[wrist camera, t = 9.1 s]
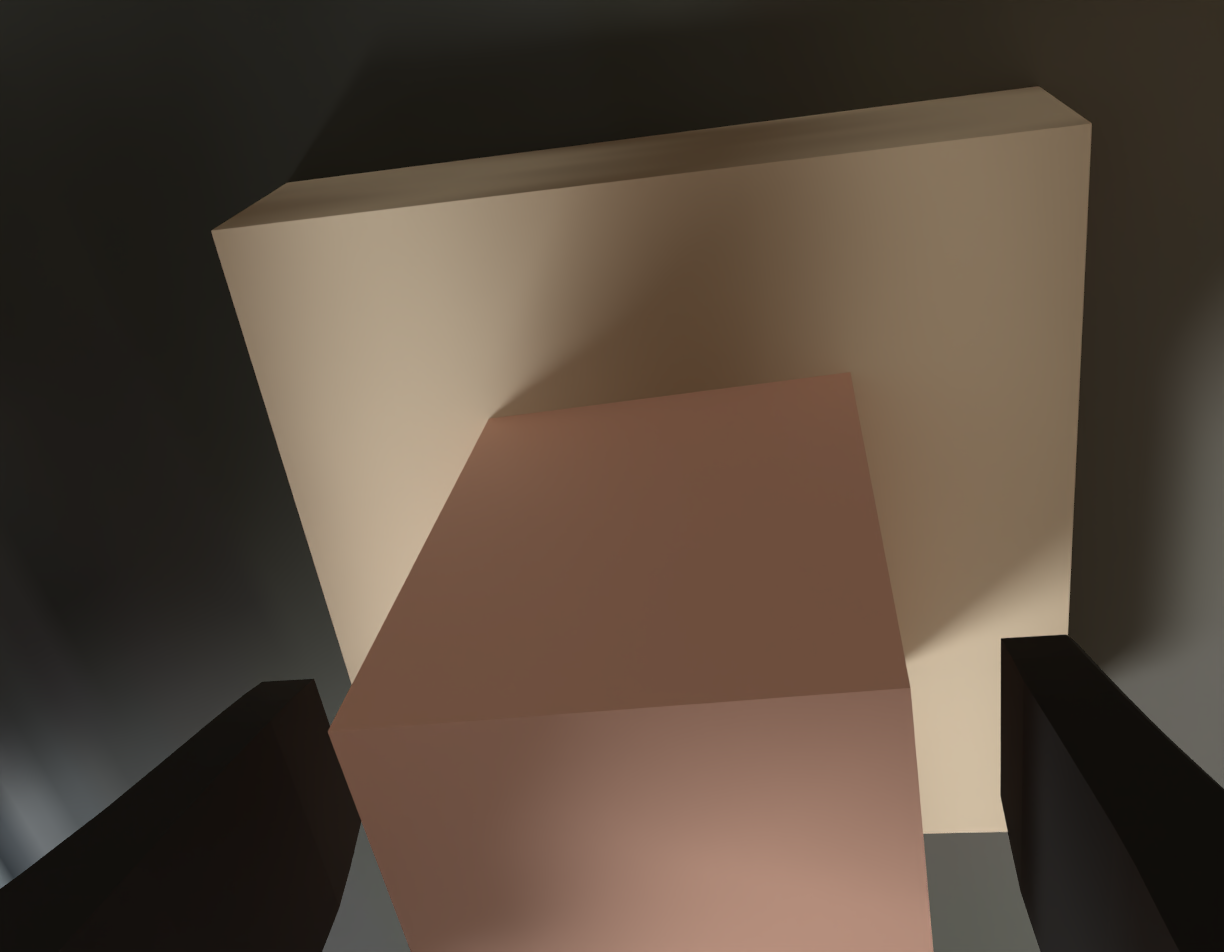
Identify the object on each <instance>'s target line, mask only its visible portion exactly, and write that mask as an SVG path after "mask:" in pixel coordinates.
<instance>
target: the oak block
mask: <svg viewBox="0 0 1224 952" xmlns="http://www.w3.org/2000/svg"><path fill="white" fill-rule="evenodd" d="M1091 132H1092V123H1091V122H1089V121H1088V120H1086V119H1085V118H1083V117H1082V116H1081V115H1079V114H1078V113H1076V112H1075V111H1074V110H1072V109H1071V108H1069V107H1068V106H1066V105H1065V104H1064V103H1062V102H1061V101H1059V100H1058V99H1057V98H1055V97H1054V96H1052V95H1051V94H1049V93H1048V92H1047V91H1045V90H1044V89H1042V88H1041V87H1039V86H1036V87H1028V88H1020V89H1013V90H1005V91H997V92H989V93H981V94H974V95H966V96H958V97H950V98H942V99H935V100H927V101H919V102H911V103H904V104H896V105H888V106H880V107H872V108H865V109H857V110H849V111H841V112H834V113H826V114H818V115H810V116H802V117H795V118H787V119H779V120H771V121H763V122H756V123H748V124H740V125H732V126H725V127H717V128H709V129H701V130H693V131H686V132H678V133H670V134H662V135H654V136H647V137H639V138H631V139H623V140H616V141H608V142H600V143H592V144H584V145H577V146H569V147H561V148H553V149H546V150H538V151H530V152H522V153H514V154H507V155H499V156H491V157H483V158H475V159H468V160H460V161H452V162H444V163H437V164H429V165H421V166H413V167H405V168H398V169H390V170H382V171H374V172H367V173H359V174H351V175H343V176H335V177H328V178H320V179H312V180H304V181H296V182H289V183H286V184H284V185H283V186H281V187H280V188H278V189H276V190H275V191H273V192H272V193H270V194H268V195H267V196H265V197H264V198H262V199H261V200H259V201H257V202H256V203H254V204H253V205H251V206H249V207H248V208H246V209H245V210H243V211H241V212H240V213H238V214H237V215H235V216H233V217H232V218H230V219H229V220H227V221H226V222H224V223H222V224H221V225H219V226H218V227H216V228H214V229H213V230H211V233H212V236H213V239H214V242H215V246H216V249H217V252H218V255H219V258H220V262H221V265H222V268H223V271H224V275H225V278H226V281H227V284H228V287H229V291H230V294H231V297H232V300H233V304H234V307H235V310H236V313H237V316H238V320H239V323H240V326H241V329H242V333H243V336H244V339H245V342H246V345H247V349H248V352H249V355H250V358H251V362H252V365H253V368H254V371H255V374H256V378H257V381H258V384H259V387H260V390H261V394H262V397H263V400H264V403H265V407H266V410H267V413H268V416H269V419H270V423H271V426H272V429H273V432H274V436H275V439H276V442H277V445H278V448H279V452H280V455H281V458H282V461H283V465H284V468H285V471H286V474H287V477H288V481H289V484H290V487H291V490H292V494H293V497H294V500H295V503H296V506H297V510H298V513H299V516H300V519H301V523H302V526H303V529H304V532H305V535H306V539H307V542H308V545H309V548H310V552H311V555H312V558H313V561H314V564H315V568H316V571H317V574H318V577H319V581H320V584H321V587H322V590H323V593H324V597H325V600H326V603H327V606H328V609H329V613H330V616H331V619H332V622H333V626H334V629H335V632H336V635H337V638H338V642H339V645H340V648H341V651H342V655H343V658H344V661H345V664H346V667H347V671H348V674H349V677H350V680H351V684H352V683H353V681H354V679H355V678H356V676H357V674H358V672H359V670H360V668H361V666H362V664H363V662H364V660H365V658H366V656H367V654H368V652H369V650H370V648H371V646H372V644H373V643H374V641H375V639H376V637H377V635H378V633H379V631H380V629H381V627H382V625H383V623H384V621H385V619H386V617H387V615H388V613H389V611H390V610H391V608H392V606H393V604H394V602H395V600H396V598H397V596H398V594H399V592H400V590H401V588H402V586H403V584H404V582H405V580H406V578H407V576H408V575H409V573H410V571H411V569H412V567H413V565H414V563H415V561H416V559H417V557H418V555H419V553H420V551H421V549H422V547H423V545H424V543H425V542H426V540H427V538H428V536H429V534H430V532H431V530H432V528H433V526H434V524H435V522H436V520H437V518H438V516H439V514H440V512H441V510H442V508H443V507H444V505H445V503H446V501H447V499H448V497H449V495H450V493H451V491H452V489H453V487H454V485H455V483H456V481H457V479H458V477H459V475H460V473H461V472H462V470H463V468H464V466H465V464H466V462H467V460H468V458H469V456H470V454H471V452H472V450H473V448H474V446H475V444H476V442H477V440H478V439H479V437H480V435H481V433H482V431H483V429H484V427H485V425H486V423H487V421H488V419H490V418H498V417H505V416H513V415H521V414H529V413H536V412H544V411H552V410H560V409H568V408H575V407H583V406H591V405H599V404H606V403H614V402H622V401H630V400H637V399H645V398H653V397H661V396H669V395H676V394H684V393H692V392H700V391H707V390H715V389H723V388H731V387H739V386H746V385H754V384H762V383H770V382H777V381H785V380H793V379H801V378H809V377H816V376H824V375H832V374H840V373H847V372H850V373H851V379H852V384H853V389H854V394H855V400H856V405H857V410H858V415H859V421H860V426H861V431H862V436H863V441H864V447H865V452H866V457H867V462H868V468H869V473H870V478H871V483H872V489H873V494H874V499H875V504H876V510H877V515H878V520H879V525H880V531H881V536H882V541H883V546H884V552H885V557H886V562H887V567H888V572H889V578H890V583H891V588H892V593H893V599H894V604H895V609H896V614H897V620H898V625H899V630H900V635H901V641H902V646H903V651H904V656H905V662H906V667H907V672H908V677H909V683H910V688H911V699H912V711H913V722H914V734H915V746H916V757H917V769H918V780H919V792H920V803H921V815H922V827H923V834H926V833H972V832H1008V830H1007V825H1006V821H1005V816H1004V811H1003V806H1002V801H1001V796H1000V773H1001V638H1014V637H1031V636H1048V635H1065V634H1066V635H1067V636H1068V621H1069V600H1070V578H1071V557H1072V536H1073V515H1074V493H1075V472H1076V451H1077V430H1078V408H1079V387H1080V366H1081V345H1082V323H1083V302H1084V281H1085V260H1086V238H1087V217H1088V196H1089V175H1090V153H1091Z"/></svg>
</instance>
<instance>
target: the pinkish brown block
mask: <svg viewBox="0 0 1224 952" xmlns="http://www.w3.org/2000/svg"><path fill="white" fill-rule="evenodd" d="M328 734H329V737H330V739H331V742H332V745H333V747H334V750H335V753H336V755H337V758H338V761H339V763H340V766H341V768H342V771H343V774H344V776H345V779H346V782H347V784H348V787H349V790H350V792H351V795H352V797H353V800H354V803H355V805H356V808H357V811H358V813H359V816H360V819H361V821H362V824H363V826H364V829H365V832H366V834H367V837H368V840H369V842H370V845H371V848H372V850H373V853H374V855H375V858H376V861H377V863H378V866H379V869H380V871H381V874H382V877H383V879H384V882H385V884H386V887H387V890H388V892H389V895H390V898H391V900H392V903H393V906H394V908H395V911H396V913H397V916H398V919H399V921H400V924H401V927H402V929H403V932H404V935H405V937H406V940H407V942H408V945H409V948H410V950H411V952H933V942H932V931H931V919H930V908H929V896H928V884H927V873H926V861H925V850H924V838H923V827H922V815H921V803H920V792H919V780H918V769H917V757H916V746H915V734H914V722H913V711H912V699H911V688H910V683H909V677H908V672H907V667H906V662H905V656H904V651H903V646H902V641H901V635H900V630H899V625H898V620H897V614H896V609H895V604H894V599H893V593H892V588H891V583H890V578H889V572H888V567H887V562H886V557H885V552H884V546H883V541H882V536H881V531H880V525H879V520H878V515H877V510H876V504H875V499H874V494H873V489H872V483H871V478H870V473H869V468H868V462H867V457H866V452H865V447H864V441H863V436H862V431H861V426H860V421H859V415H858V410H857V405H856V400H855V394H854V389H853V384H852V379H851V373H850V372H847V373H840V374H832V375H824V376H816V377H809V378H801V379H793V380H785V381H777V382H770V383H762V384H754V385H746V386H739V387H731V388H723V389H715V390H707V391H700V392H692V393H684V394H676V395H669V396H661V397H653V398H645V399H637V400H630V401H622V402H614V403H606V404H599V405H591V406H583V407H575V408H568V409H560V410H552V411H544V412H536V413H529V414H521V415H513V416H505V417H498V418H490V419H488V421H487V423H486V425H485V427H484V429H483V431H482V433H481V435H480V437H479V439H478V440H477V442H476V444H475V446H474V448H473V450H472V452H471V454H470V456H469V458H468V460H467V462H466V464H465V466H464V468H463V470H462V472H461V473H460V475H459V477H458V479H457V481H456V483H455V485H454V487H453V489H452V491H451V493H450V495H449V497H448V499H447V501H446V503H445V505H444V507H443V508H442V510H441V512H440V514H439V516H438V518H437V520H436V522H435V524H434V526H433V528H432V530H431V532H430V534H429V536H428V538H427V540H426V542H425V543H424V545H423V547H422V549H421V551H420V553H419V555H418V557H417V559H416V561H415V563H414V565H413V567H412V569H411V571H410V573H409V575H408V576H407V578H406V580H405V582H404V584H403V586H402V588H401V590H400V592H399V594H398V596H397V598H396V600H395V602H394V604H393V606H392V608H391V610H390V611H389V613H388V615H387V617H386V619H385V621H384V623H383V625H382V627H381V629H380V631H379V633H378V635H377V637H376V639H375V641H374V643H373V644H372V646H371V648H370V650H369V652H368V654H367V656H366V658H365V660H364V662H363V664H362V666H361V668H360V670H359V672H358V674H357V676H356V678H355V679H354V681H353V683H352V685H351V687H350V689H349V691H348V693H347V695H346V697H345V699H344V701H343V703H342V705H341V707H340V709H339V711H338V713H337V714H336V716H335V718H334V720H333V722H332V724H331V726H330V728H329V730H328Z"/></svg>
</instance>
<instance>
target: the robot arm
mask: <svg viewBox="0 0 1224 952" xmlns="http://www.w3.org/2000/svg"><path fill="white" fill-rule="evenodd" d="M329 728H330V725H329V722H328V719H327V716H326V713H325V710H324V707H323V704H322V701H321V698H320V696H319V693H318V690H317V687H316V684H315V681H314V679H304V680H287V681H270V682H262V683H260V684H259V685H257V686H256V687H255V688H253V689H252V690H250V691H249V692H248V693H246V694H245V695H244V696H242V697H241V698H240V699H238V700H237V701H236V702H234V703H233V704H232V705H231V706H229V707H228V708H227V709H226V710H224V711H223V712H222V713H221V714H220V715H218V716H217V717H216V718H215V719H213V720H212V721H211V722H210V723H209V724H207V725H206V726H205V727H204V728H202V729H201V730H200V731H199V732H198V733H196V734H195V735H194V736H193V737H192V738H190V739H189V740H188V741H187V742H186V743H184V744H183V745H182V746H181V747H180V748H178V749H177V750H176V751H175V752H174V753H172V754H171V755H170V756H169V757H168V758H166V759H165V760H164V761H163V762H162V763H160V764H159V765H158V766H157V767H156V768H154V769H153V770H152V771H151V772H149V773H148V774H147V775H146V776H145V777H143V778H142V779H141V780H140V781H139V782H137V783H136V784H135V785H134V786H133V787H131V788H130V789H129V790H128V791H126V792H125V793H124V794H123V795H122V796H120V797H119V798H118V799H117V800H116V801H114V802H113V803H112V804H111V805H109V806H108V807H107V808H106V809H105V810H103V811H102V812H101V813H99V814H98V815H97V816H96V817H94V818H93V819H92V820H90V821H89V822H88V823H86V824H85V825H84V826H83V827H81V828H80V829H79V830H77V831H76V832H75V833H73V834H72V835H71V836H70V837H68V838H67V839H66V840H64V841H63V842H62V843H60V844H59V845H58V846H57V847H55V848H54V849H53V850H51V851H50V852H49V853H47V854H46V855H45V856H44V857H42V858H41V859H40V860H38V861H37V862H36V863H34V864H33V865H32V866H31V867H29V868H28V869H27V870H25V871H24V872H23V873H21V874H20V875H19V876H17V877H16V878H15V879H13V880H12V881H11V882H9V883H8V884H6V885H5V886H4V887H2V888H1V889H0V952H322V950H323V948H324V945H325V943H326V940H327V938H328V935H329V933H330V930H331V928H332V925H333V922H334V920H335V917H336V914H337V912H338V909H339V906H340V903H341V899H342V896H343V892H344V888H345V885H346V881H347V877H348V874H349V870H350V866H351V862H352V858H353V854H354V849H355V845H356V841H357V837H358V833H359V829H360V824H361V819H360V816H359V813H358V811H357V808H356V805H355V803H354V800H353V797H352V795H351V792H350V790H349V787H348V784H347V782H346V779H345V776H344V774H343V771H342V768H341V766H340V763H339V761H338V758H337V755H336V753H335V750H334V747H333V745H332V742H331V739H330V737H329V734H328V730H329ZM1000 796H1001V801H1002V806H1003V811H1004V816H1005V821H1006V825H1007V830H1008V835H1009V840H1010V845H1011V850H1012V854H1013V859H1014V863H1015V868H1016V872H1017V877H1018V881H1019V886H1020V891H1021V894H1022V897H1023V900H1024V903H1025V906H1026V909H1027V912H1028V915H1029V918H1030V921H1031V924H1032V927H1033V930H1034V933H1035V936H1036V939H1037V942H1038V945H1039V948H1040V951H1041V952H1224V789H1223V788H1222V787H1221V786H1220V785H1219V784H1218V783H1217V782H1216V781H1215V780H1213V779H1212V778H1211V777H1210V776H1209V775H1208V774H1207V773H1206V772H1205V771H1204V770H1203V769H1202V768H1201V767H1199V766H1198V765H1197V764H1196V763H1195V762H1194V761H1193V760H1192V759H1191V758H1190V757H1189V756H1188V755H1187V754H1185V753H1184V752H1183V751H1182V750H1181V749H1180V748H1179V747H1178V746H1177V745H1176V744H1175V743H1174V742H1173V741H1172V740H1170V739H1169V738H1168V737H1167V736H1166V735H1165V734H1164V733H1163V732H1162V731H1161V730H1160V729H1159V728H1158V727H1157V726H1156V725H1155V724H1154V723H1153V722H1152V721H1151V720H1150V719H1149V718H1148V717H1147V716H1146V715H1145V714H1144V713H1143V712H1142V711H1141V710H1140V709H1139V708H1138V707H1137V706H1136V705H1135V704H1134V703H1133V702H1132V701H1131V700H1130V699H1129V698H1128V697H1127V696H1126V695H1125V694H1124V693H1123V692H1122V691H1121V690H1120V689H1119V687H1118V686H1117V685H1116V684H1115V683H1114V682H1113V681H1112V680H1111V679H1110V678H1109V677H1108V676H1107V675H1106V674H1105V673H1104V672H1103V671H1102V670H1101V669H1100V668H1099V666H1098V665H1097V664H1096V663H1095V662H1094V661H1093V660H1092V659H1091V658H1090V657H1089V656H1088V655H1087V654H1086V653H1085V651H1084V650H1083V649H1082V648H1081V647H1080V646H1079V645H1078V644H1077V643H1076V642H1075V641H1073V640H1072V639H1071V638H1070V637H1069V636H1067V635H1066V634H1065V635H1048V636H1031V637H1014V638H1001V773H1000Z"/></svg>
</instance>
